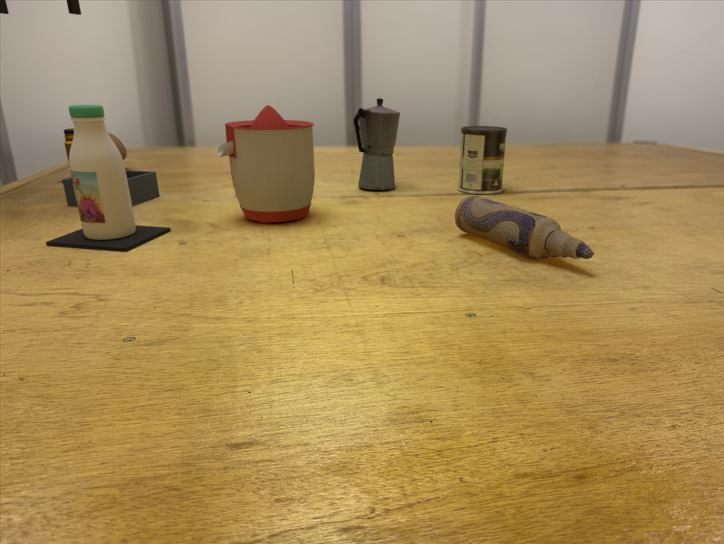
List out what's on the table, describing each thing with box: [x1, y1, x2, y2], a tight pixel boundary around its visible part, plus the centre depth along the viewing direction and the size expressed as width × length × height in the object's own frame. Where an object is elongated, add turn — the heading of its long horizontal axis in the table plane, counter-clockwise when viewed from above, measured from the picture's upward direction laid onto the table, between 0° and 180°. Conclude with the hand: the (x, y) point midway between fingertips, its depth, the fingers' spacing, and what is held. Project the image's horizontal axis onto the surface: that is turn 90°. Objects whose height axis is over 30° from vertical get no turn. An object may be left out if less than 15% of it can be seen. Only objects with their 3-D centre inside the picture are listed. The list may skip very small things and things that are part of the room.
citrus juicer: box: [216, 104, 316, 224], centre depth 100 cm, size 16×17×20 cm
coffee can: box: [458, 125, 508, 195], centre depth 127 cm, size 10×10×14 cm
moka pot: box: [353, 97, 401, 191], centre depth 126 cm, size 10×15×20 cm, turn 149°
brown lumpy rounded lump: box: [108, 132, 128, 161], centre depth 146 cm, size 9×9×10 cm
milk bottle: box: [68, 104, 136, 240], centre depth 86 cm, size 8×8×20 cm
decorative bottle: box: [454, 194, 595, 260], centre depth 85 cm, size 26×8×7 cm, turn 33°
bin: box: [61, 169, 161, 207], centre depth 114 cm, size 12×12×5 cm
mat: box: [45, 224, 172, 253], centre depth 90 cm, size 14×12×1 cm
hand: (38, 14), depth 101 cm, fingers open, 13 cm apart
